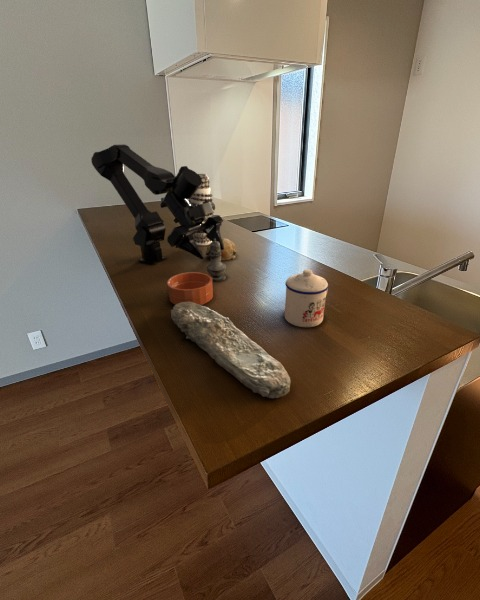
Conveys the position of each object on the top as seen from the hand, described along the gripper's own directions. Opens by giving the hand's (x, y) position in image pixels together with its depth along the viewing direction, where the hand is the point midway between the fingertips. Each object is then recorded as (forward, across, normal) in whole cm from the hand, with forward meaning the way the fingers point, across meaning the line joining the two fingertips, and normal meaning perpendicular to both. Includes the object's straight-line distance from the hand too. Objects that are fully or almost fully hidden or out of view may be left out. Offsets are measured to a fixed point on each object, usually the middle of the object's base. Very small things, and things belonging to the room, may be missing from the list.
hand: (213, 253), depth 91 cm
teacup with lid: (+28, -6, -18) cm, 34 cm away
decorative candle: (-13, +25, +24) cm, 37 cm away
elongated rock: (+22, -27, -11) cm, 36 cm away
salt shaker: (+6, 0, +5) cm, 8 cm away
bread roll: (-1, +16, +12) cm, 20 cm away
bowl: (+8, -14, +3) cm, 16 cm away
